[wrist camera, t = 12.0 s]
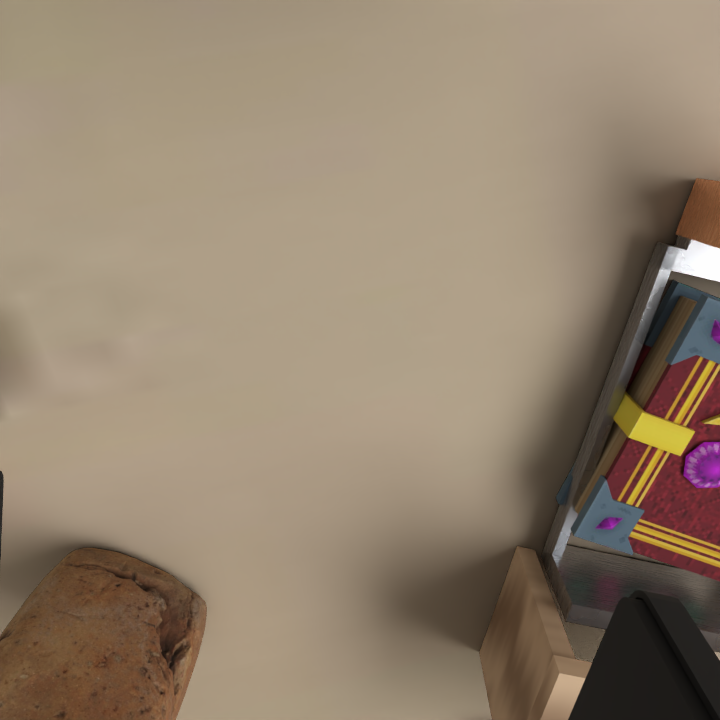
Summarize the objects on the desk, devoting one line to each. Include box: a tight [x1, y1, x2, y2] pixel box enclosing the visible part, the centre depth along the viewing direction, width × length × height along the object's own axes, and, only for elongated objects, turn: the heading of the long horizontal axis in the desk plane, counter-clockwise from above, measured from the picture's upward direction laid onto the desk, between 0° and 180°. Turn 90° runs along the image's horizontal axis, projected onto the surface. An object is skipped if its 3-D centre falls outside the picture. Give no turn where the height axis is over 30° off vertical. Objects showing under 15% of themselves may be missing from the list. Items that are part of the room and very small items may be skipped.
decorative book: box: [556, 280, 720, 581], centre depth 37 cm, size 11×16×5 cm
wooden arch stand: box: [479, 546, 592, 720], centre depth 39 cm, size 9×17×11 cm, turn 78°
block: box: [0, 548, 207, 720], centre depth 35 cm, size 11×8×20 cm
